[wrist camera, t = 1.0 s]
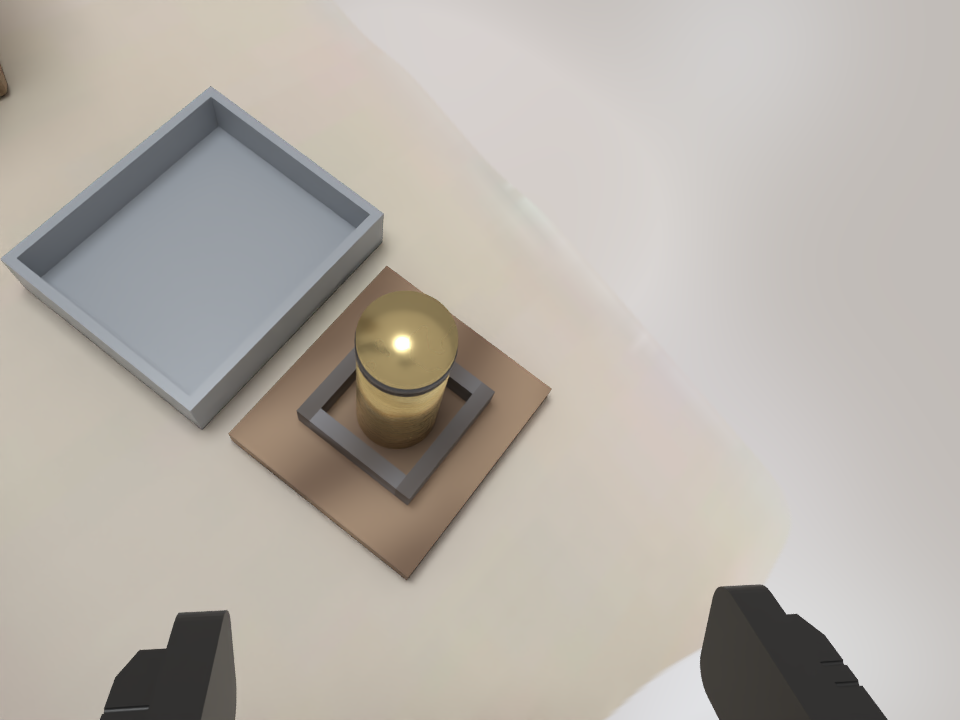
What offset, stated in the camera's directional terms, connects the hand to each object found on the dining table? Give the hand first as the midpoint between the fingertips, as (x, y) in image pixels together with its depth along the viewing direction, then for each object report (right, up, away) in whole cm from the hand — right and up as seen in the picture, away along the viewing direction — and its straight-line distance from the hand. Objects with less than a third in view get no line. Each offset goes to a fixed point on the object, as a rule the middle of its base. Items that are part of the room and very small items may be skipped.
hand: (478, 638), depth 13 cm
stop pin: (-4, +2, +27) cm, 27 cm away
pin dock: (-4, +2, +28) cm, 28 cm away
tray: (-14, +10, +29) cm, 34 cm away
